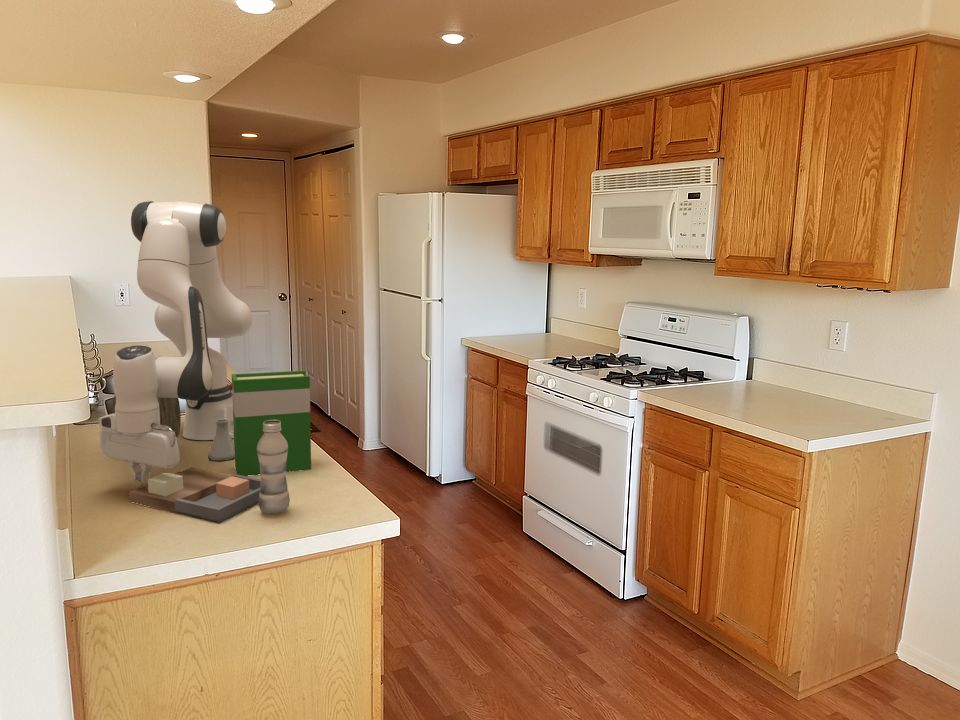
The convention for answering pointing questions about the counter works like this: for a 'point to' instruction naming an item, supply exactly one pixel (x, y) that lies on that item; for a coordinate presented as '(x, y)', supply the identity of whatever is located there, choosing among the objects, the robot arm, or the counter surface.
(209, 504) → the tray
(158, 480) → the cream block
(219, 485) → the orange square block
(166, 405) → the tabletop clock
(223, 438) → the flask
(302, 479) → the counter surface
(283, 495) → the plastic bottle
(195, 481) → the walnut board
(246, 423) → the hardback book
